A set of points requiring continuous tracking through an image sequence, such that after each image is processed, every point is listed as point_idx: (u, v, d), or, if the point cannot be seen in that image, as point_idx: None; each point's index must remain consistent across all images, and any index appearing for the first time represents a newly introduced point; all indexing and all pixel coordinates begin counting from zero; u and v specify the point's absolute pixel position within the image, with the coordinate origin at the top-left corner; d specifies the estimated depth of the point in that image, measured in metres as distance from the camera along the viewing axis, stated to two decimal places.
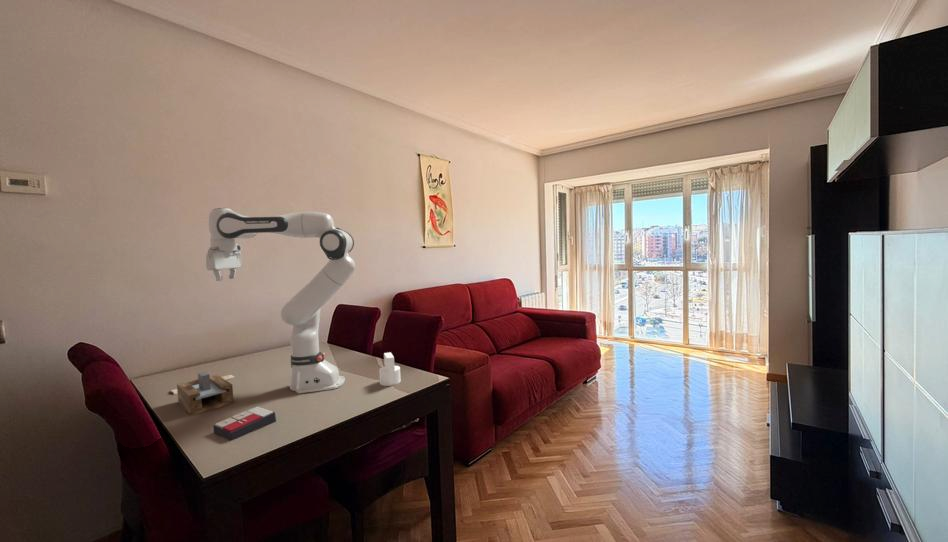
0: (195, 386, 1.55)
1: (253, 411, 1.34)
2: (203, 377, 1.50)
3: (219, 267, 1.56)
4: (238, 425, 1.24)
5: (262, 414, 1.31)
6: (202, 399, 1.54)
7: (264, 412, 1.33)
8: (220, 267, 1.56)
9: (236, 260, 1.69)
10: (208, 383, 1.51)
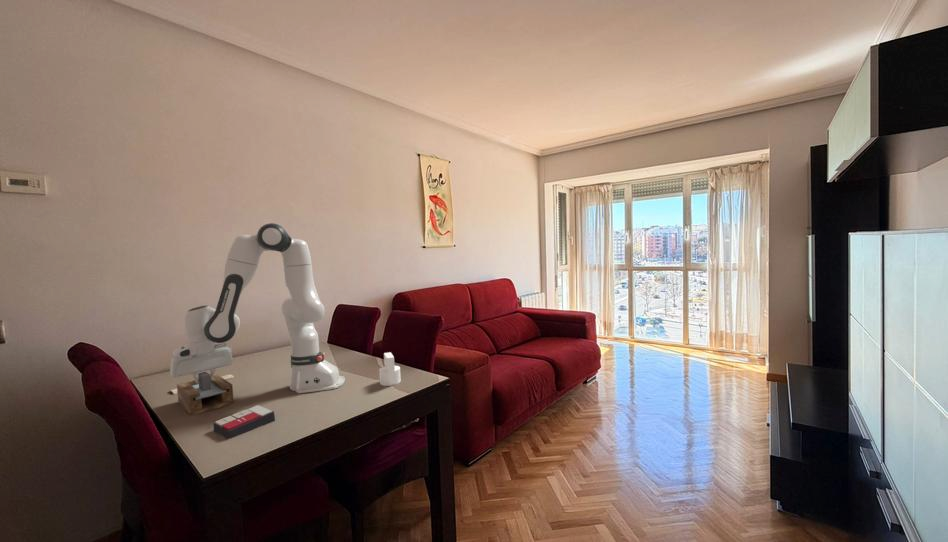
0: (195, 386, 1.55)
1: (253, 410, 1.36)
2: (203, 377, 1.50)
3: None
4: (236, 423, 1.25)
5: (261, 413, 1.32)
6: (202, 399, 1.54)
7: (263, 411, 1.34)
8: None
9: None
10: (208, 383, 1.51)
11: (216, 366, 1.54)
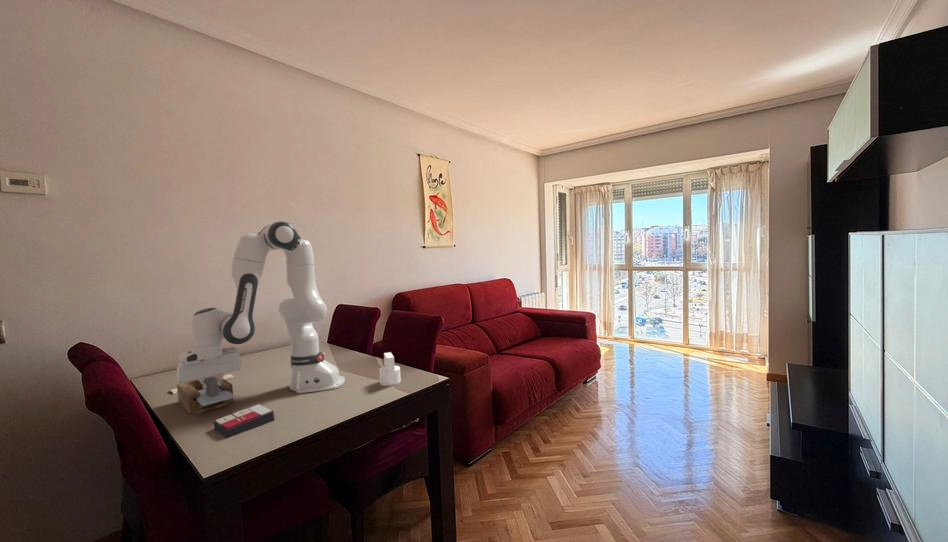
0: (202, 391, 1.49)
1: (254, 409, 1.36)
2: (210, 382, 1.43)
3: None
4: (235, 423, 1.26)
5: (261, 412, 1.33)
6: None
7: (263, 410, 1.34)
8: None
9: None
10: (216, 388, 1.44)
11: (224, 371, 1.47)
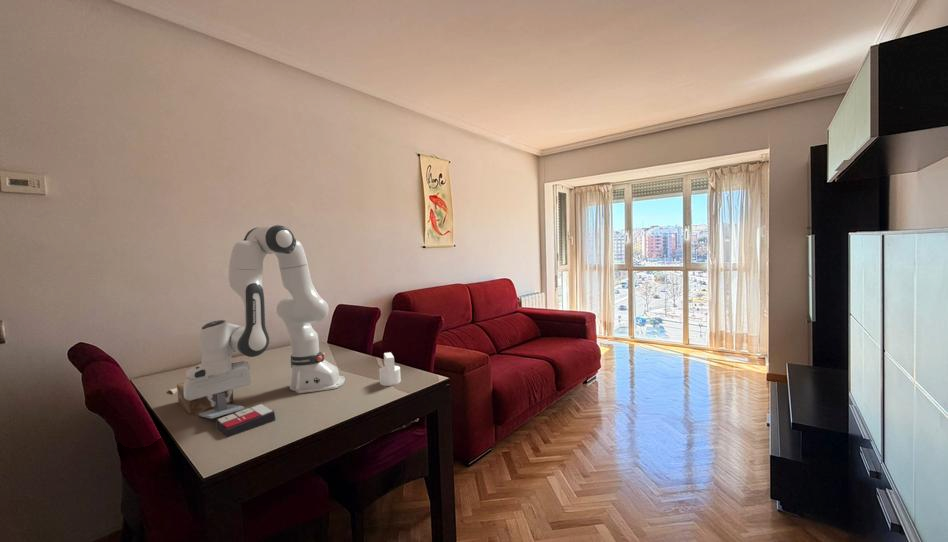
0: (210, 410, 1.42)
1: (256, 409, 1.37)
2: (218, 395, 1.37)
3: None
4: (236, 422, 1.27)
5: (262, 412, 1.33)
6: (202, 399, 1.54)
7: (264, 410, 1.34)
8: None
9: None
10: (224, 402, 1.37)
11: (233, 387, 1.40)
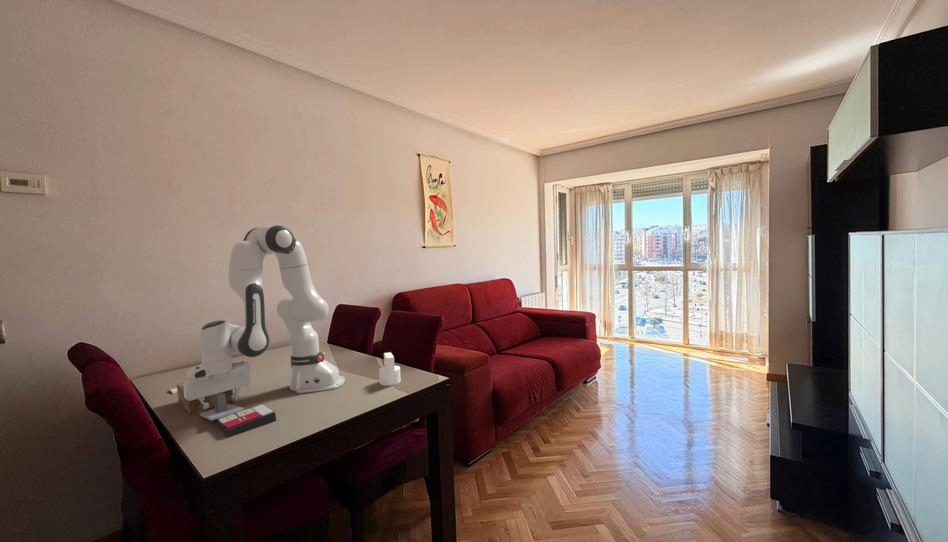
0: (211, 410, 1.42)
1: (257, 409, 1.36)
2: (218, 397, 1.36)
3: None
4: (236, 423, 1.26)
5: (262, 413, 1.33)
6: None
7: (265, 411, 1.34)
8: None
9: None
10: (224, 403, 1.37)
11: (233, 387, 1.40)
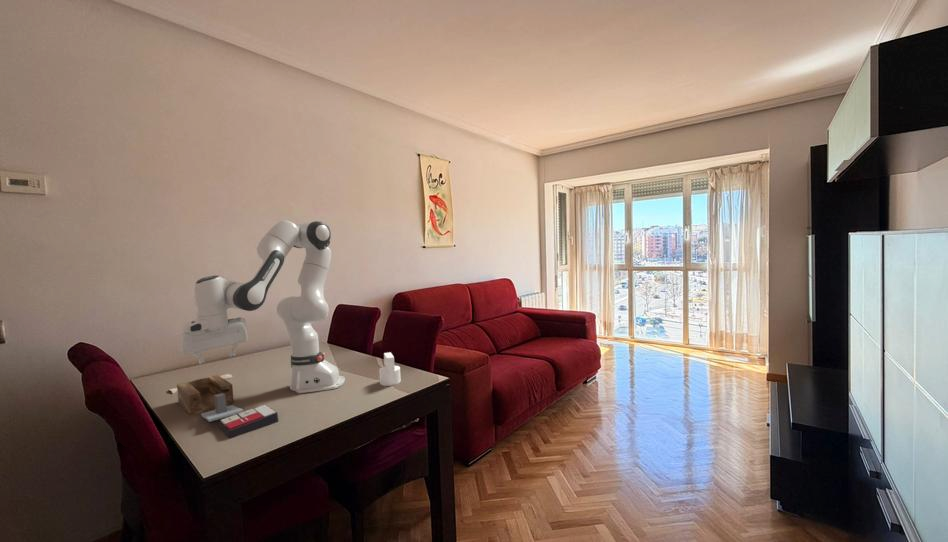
0: (212, 411, 1.41)
1: (259, 410, 1.36)
2: (218, 397, 1.35)
3: None
4: (238, 423, 1.26)
5: (265, 414, 1.32)
6: (202, 399, 1.54)
7: (267, 412, 1.33)
8: None
9: None
10: (224, 404, 1.36)
11: (230, 343, 1.39)
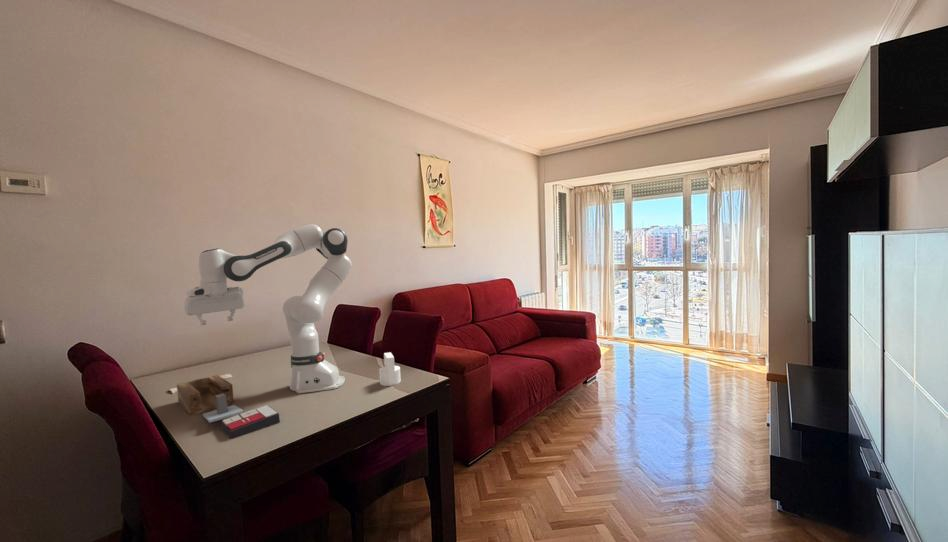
0: (214, 411, 1.41)
1: (261, 410, 1.35)
2: (219, 398, 1.35)
3: None
4: (240, 424, 1.25)
5: (266, 414, 1.31)
6: (202, 399, 1.54)
7: (269, 412, 1.33)
8: None
9: None
10: (225, 405, 1.36)
11: (228, 308, 1.58)
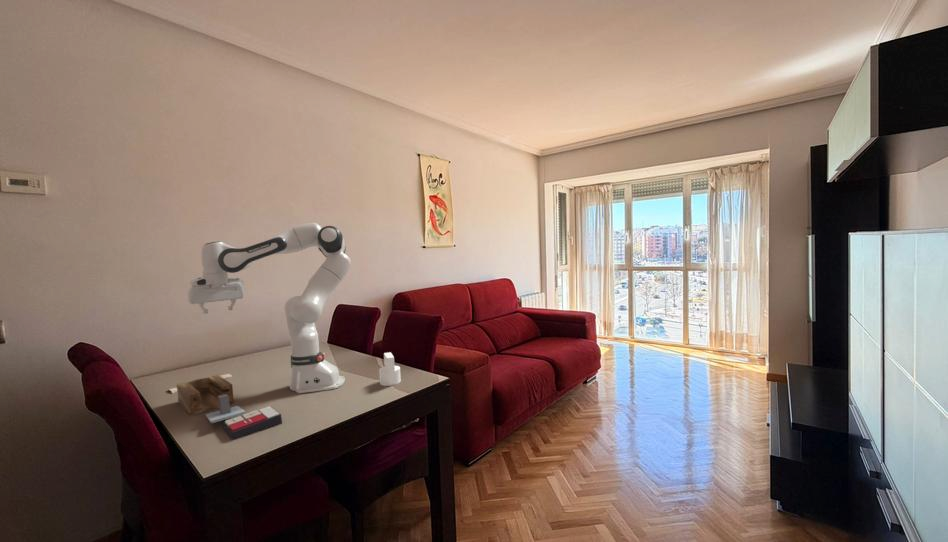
0: (217, 412, 1.40)
1: (263, 411, 1.34)
2: (221, 399, 1.34)
3: None
4: (241, 425, 1.24)
5: (268, 415, 1.31)
6: (202, 399, 1.54)
7: (271, 413, 1.32)
8: None
9: None
10: (227, 405, 1.35)
11: (229, 298, 1.67)
